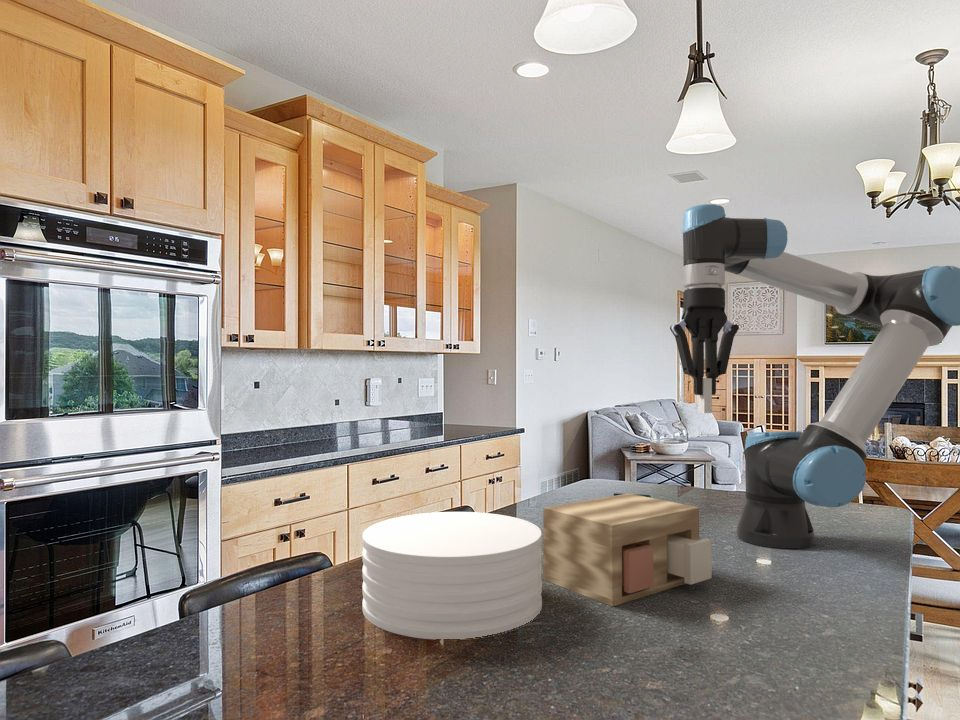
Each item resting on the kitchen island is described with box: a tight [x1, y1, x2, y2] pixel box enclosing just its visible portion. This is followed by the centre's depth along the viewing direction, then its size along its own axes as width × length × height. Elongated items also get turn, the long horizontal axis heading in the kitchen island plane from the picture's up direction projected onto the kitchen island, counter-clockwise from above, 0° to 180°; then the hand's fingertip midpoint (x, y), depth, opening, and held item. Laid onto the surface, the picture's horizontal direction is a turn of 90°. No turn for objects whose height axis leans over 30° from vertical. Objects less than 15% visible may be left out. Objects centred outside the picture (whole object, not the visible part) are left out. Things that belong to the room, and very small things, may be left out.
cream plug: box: [667, 534, 713, 585], centre depth 116 cm, size 17×6×6 cm, turn 36°
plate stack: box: [361, 511, 543, 640], centre depth 104 cm, size 28×28×12 cm
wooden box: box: [542, 492, 700, 607], centre depth 115 cm, size 16×22×12 cm
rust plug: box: [622, 545, 653, 593], centre depth 112 cm, size 17×6×6 cm, turn 36°
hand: (704, 412), depth 125 cm, fingers closed
